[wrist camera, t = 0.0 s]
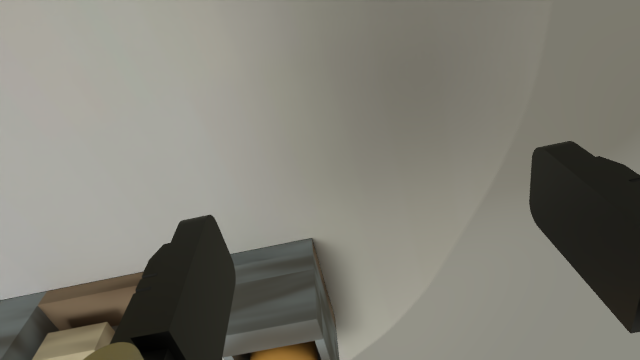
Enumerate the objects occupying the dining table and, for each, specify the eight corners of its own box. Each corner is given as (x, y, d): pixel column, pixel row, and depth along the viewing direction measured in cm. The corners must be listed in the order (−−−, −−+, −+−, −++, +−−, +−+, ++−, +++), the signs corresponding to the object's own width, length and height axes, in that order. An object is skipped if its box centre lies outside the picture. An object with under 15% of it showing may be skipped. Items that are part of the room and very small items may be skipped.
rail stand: (-8, 302, 34) (-82, 393, 28) (311, 238, 33) (317, 318, 26) (56, 369, 40) (8, 460, 33) (334, 317, 38) (343, 401, 31)
